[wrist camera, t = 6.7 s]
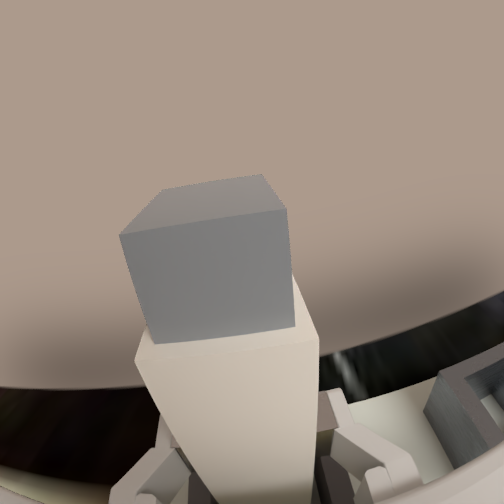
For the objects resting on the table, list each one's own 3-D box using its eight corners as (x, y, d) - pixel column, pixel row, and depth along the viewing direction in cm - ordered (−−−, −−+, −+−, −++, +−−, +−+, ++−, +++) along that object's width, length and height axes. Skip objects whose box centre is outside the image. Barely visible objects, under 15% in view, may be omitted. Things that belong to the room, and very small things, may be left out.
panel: (169, 604, 6) (126, 600, 4) (178, 435, 18) (154, 391, 16) (569, 459, 7) (608, 414, 5) (493, 358, 19) (511, 310, 17)
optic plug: (248, 539, 10) (91, 248, 4) (243, 481, 14) (154, 189, 7) (307, 532, 10) (315, 213, 4) (295, 474, 14) (272, 170, 7)
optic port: (470, 502, 8) (504, 473, 7) (422, 411, 16) (438, 371, 14) (544, 448, 9) (575, 410, 7) (493, 378, 16) (511, 338, 14)
